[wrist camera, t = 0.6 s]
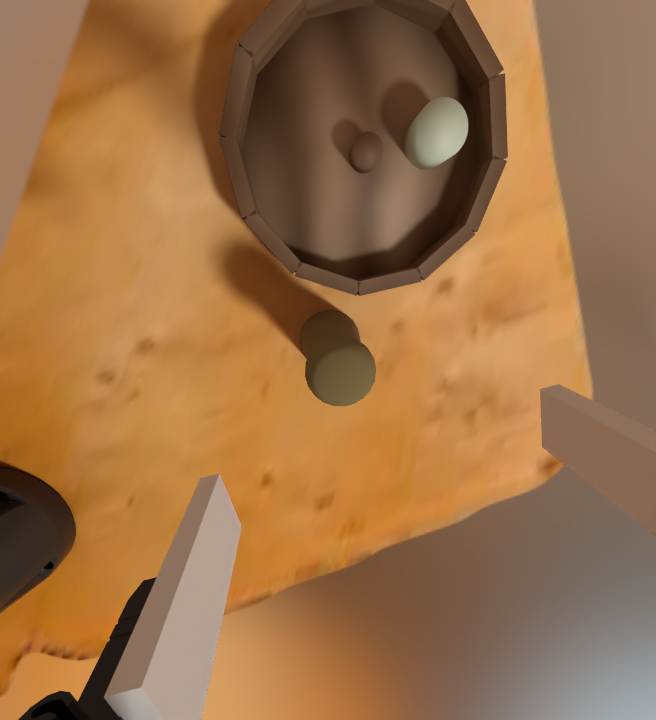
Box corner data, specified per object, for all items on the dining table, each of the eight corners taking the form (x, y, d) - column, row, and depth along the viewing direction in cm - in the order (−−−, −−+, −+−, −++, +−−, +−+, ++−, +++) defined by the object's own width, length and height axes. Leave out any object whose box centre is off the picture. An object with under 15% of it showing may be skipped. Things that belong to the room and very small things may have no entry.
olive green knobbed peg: (296, 313, 31) (294, 341, 21) (358, 307, 32) (385, 332, 21) (303, 371, 33) (303, 423, 23) (361, 365, 34) (387, 414, 23)
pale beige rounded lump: (407, 174, 28) (419, 164, 25) (400, 120, 26) (412, 103, 23) (452, 164, 28) (470, 153, 25) (448, 109, 26) (466, 91, 23)
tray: (271, 312, 31) (267, 319, 28) (192, 29, 24) (176, -6, 21) (491, 262, 31) (513, 262, 28) (476, -35, 24) (502, -79, 21)
